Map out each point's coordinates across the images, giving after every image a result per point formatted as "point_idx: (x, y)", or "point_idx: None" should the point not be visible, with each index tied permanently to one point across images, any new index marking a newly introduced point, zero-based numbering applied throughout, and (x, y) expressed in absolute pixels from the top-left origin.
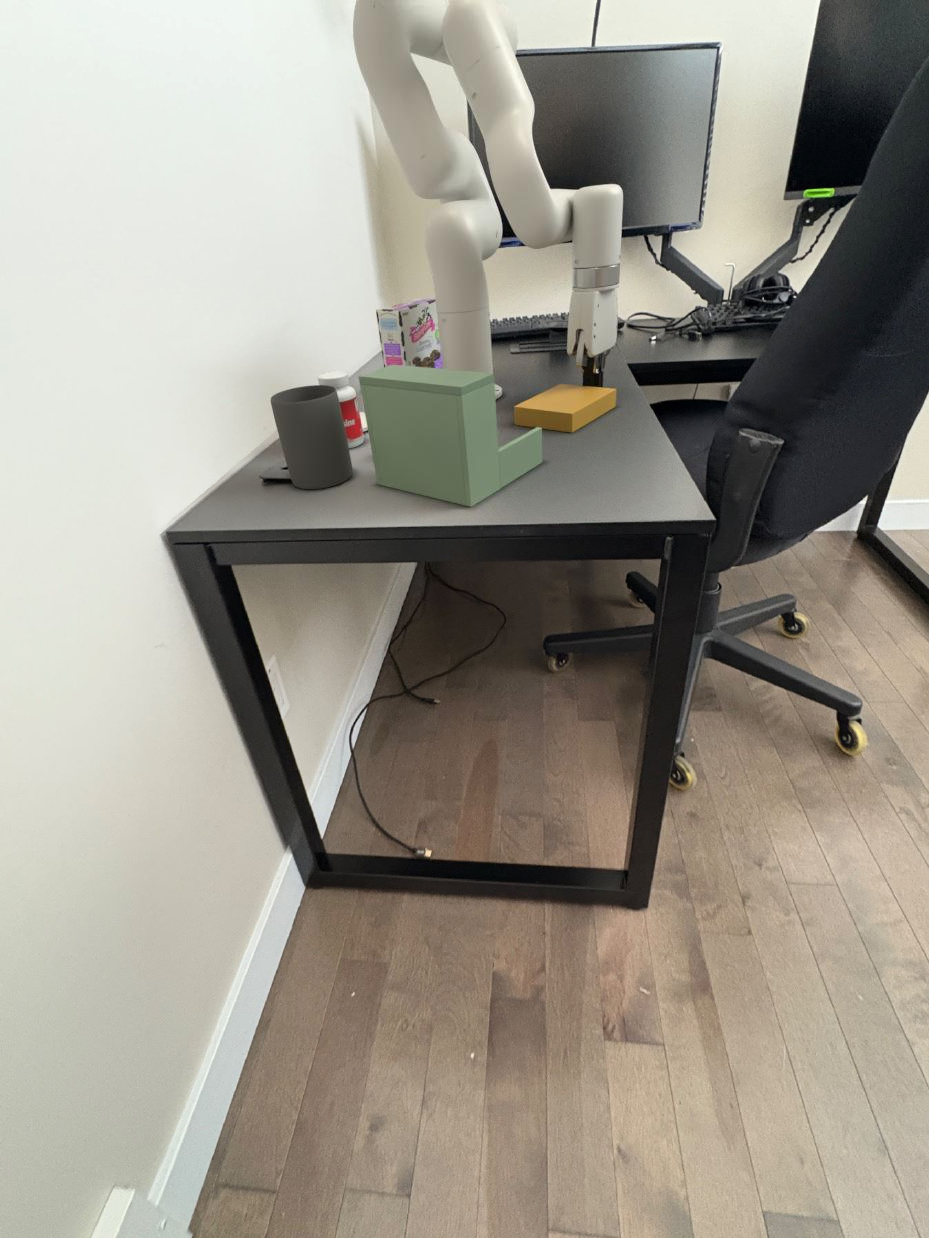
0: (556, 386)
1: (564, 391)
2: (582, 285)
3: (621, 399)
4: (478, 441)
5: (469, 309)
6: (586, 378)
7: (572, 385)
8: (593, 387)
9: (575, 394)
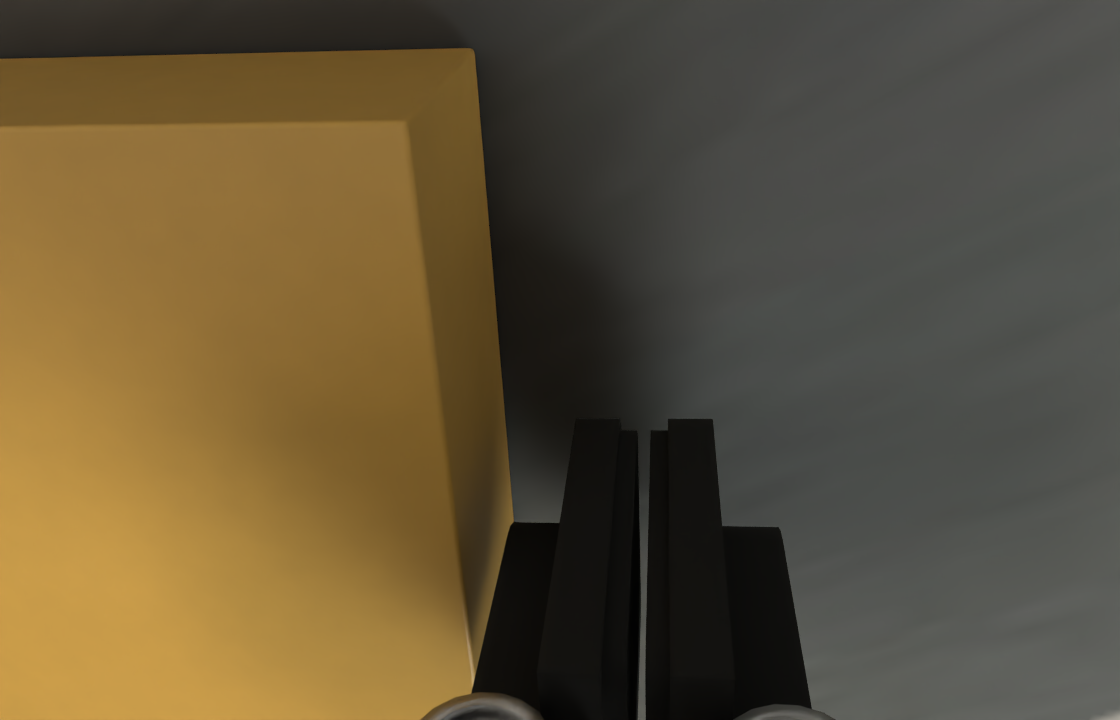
0: (188, 157)
1: (31, 456)
2: None
3: (822, 694)
4: None
5: None
6: (487, 681)
7: (400, 406)
8: None
9: (27, 642)
